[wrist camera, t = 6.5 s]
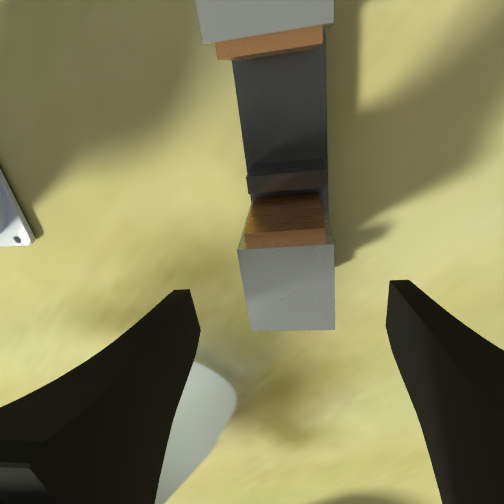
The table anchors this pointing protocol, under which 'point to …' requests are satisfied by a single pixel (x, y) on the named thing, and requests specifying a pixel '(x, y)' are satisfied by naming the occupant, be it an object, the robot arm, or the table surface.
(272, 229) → the grey and orange block
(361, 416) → the table surface
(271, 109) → the rail
